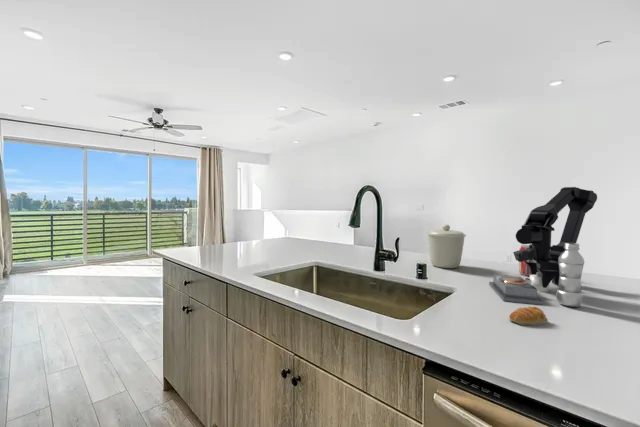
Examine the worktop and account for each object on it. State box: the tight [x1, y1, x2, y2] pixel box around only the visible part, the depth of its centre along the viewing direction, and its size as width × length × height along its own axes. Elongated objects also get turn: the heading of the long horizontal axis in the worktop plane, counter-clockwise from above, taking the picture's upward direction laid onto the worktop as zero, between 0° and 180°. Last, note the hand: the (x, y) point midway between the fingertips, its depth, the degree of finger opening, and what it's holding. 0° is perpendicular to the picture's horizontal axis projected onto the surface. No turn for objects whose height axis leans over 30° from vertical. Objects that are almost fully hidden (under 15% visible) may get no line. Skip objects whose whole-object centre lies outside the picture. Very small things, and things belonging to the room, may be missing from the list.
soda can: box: [518, 244, 531, 277], centre depth 133 cm, size 7×7×13 cm
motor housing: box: [488, 274, 543, 306], centre depth 106 cm, size 11×20×6 cm, turn 162°
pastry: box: [509, 305, 549, 326], centre depth 82 cm, size 9×7×4 cm
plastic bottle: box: [555, 242, 585, 308], centre depth 94 cm, size 6×7×20 cm
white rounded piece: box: [529, 272, 550, 293], centre depth 111 cm, size 6×6×6 cm
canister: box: [426, 224, 467, 269], centre depth 149 cm, size 18×18×21 cm
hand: (539, 284), depth 111 cm, fingers open, 9 cm apart
